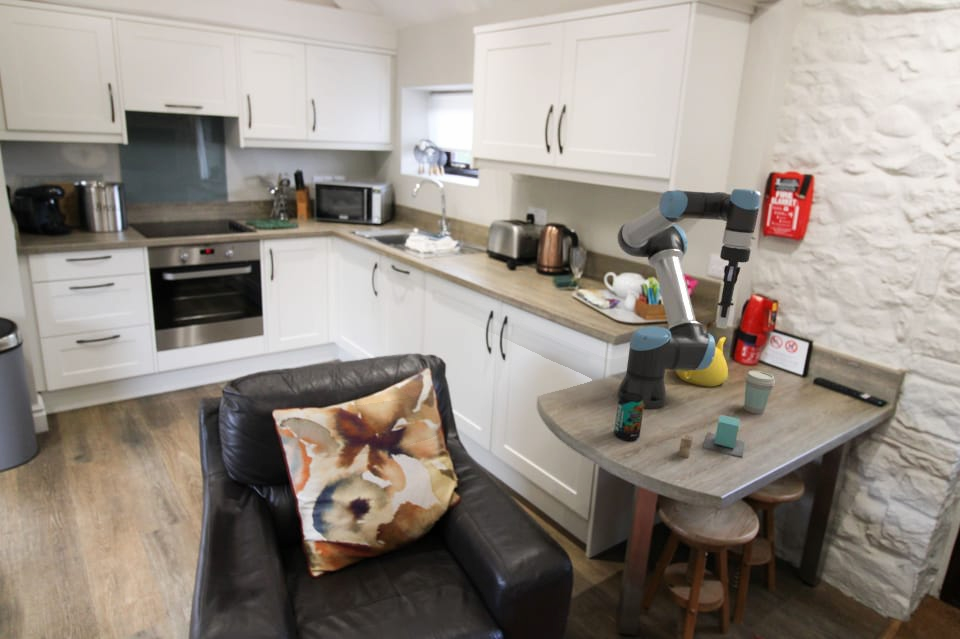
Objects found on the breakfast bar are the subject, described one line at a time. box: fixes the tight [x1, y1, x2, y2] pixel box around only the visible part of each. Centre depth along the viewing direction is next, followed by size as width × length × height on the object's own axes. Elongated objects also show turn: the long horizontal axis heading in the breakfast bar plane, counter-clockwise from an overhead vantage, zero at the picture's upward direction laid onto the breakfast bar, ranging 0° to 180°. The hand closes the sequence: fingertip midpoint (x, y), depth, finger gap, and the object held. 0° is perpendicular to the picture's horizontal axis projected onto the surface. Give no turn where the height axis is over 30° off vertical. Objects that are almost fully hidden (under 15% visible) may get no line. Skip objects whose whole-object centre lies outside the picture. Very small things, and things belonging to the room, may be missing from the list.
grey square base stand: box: [702, 432, 745, 458], centre depth 172 cm, size 10×10×7 cm
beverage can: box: [613, 392, 645, 442], centre depth 173 cm, size 7×7×12 cm
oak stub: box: [677, 434, 694, 458], centre depth 166 cm, size 3×3×5 cm
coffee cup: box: [743, 370, 776, 415], centre depth 197 cm, size 8×8×12 cm
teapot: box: [675, 336, 729, 387], centre depth 222 cm, size 25×18×14 cm
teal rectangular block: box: [714, 414, 741, 448], centre depth 172 cm, size 5×5×7 cm
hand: (721, 327), depth 180 cm, fingers closed
